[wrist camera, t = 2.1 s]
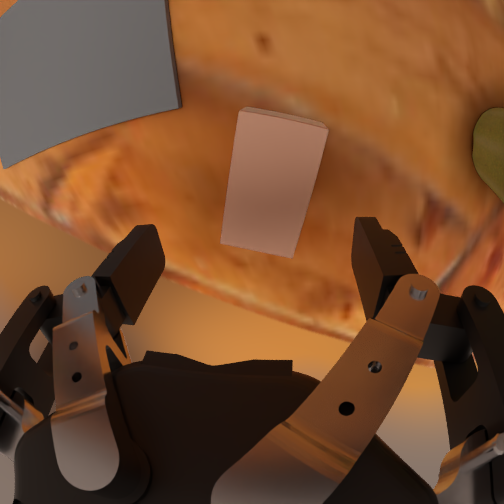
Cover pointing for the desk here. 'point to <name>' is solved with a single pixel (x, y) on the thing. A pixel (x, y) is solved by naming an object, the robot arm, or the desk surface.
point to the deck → (271, 180)
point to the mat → (81, 69)
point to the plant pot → (490, 149)
